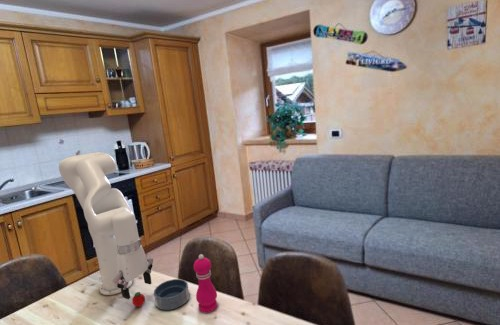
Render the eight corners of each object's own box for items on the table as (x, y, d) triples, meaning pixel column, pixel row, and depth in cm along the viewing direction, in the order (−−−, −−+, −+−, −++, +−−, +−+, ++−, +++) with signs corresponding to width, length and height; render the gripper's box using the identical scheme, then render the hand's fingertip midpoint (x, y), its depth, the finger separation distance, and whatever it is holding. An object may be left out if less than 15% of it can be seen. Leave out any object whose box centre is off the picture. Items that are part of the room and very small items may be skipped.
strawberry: (130, 307, 115) (128, 295, 114) (140, 300, 119) (138, 289, 118) (138, 310, 113) (136, 298, 112) (148, 303, 117) (146, 291, 116)
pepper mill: (214, 314, 107) (207, 259, 103) (194, 313, 108) (186, 259, 104) (220, 300, 114) (214, 249, 110) (202, 300, 115) (194, 249, 111)
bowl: (148, 306, 115) (146, 293, 114) (172, 288, 125) (170, 276, 124) (173, 314, 109) (171, 301, 108) (196, 294, 119) (194, 282, 118)
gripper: (141, 235, 121) (149, 276, 124) (100, 256, 106) (110, 302, 109) (154, 237, 117) (162, 280, 120) (114, 259, 102) (124, 306, 105)
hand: (137, 290), depth 114 cm, fingers open, 9 cm apart
